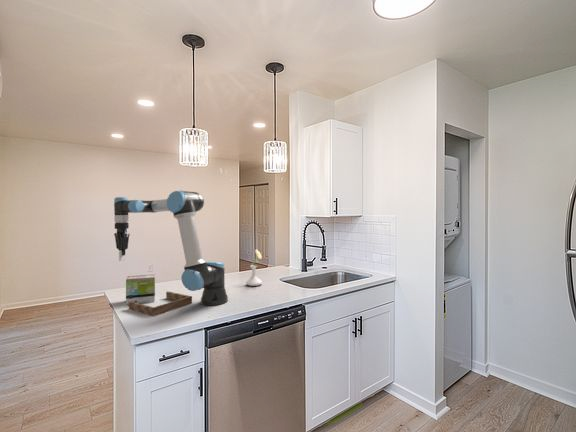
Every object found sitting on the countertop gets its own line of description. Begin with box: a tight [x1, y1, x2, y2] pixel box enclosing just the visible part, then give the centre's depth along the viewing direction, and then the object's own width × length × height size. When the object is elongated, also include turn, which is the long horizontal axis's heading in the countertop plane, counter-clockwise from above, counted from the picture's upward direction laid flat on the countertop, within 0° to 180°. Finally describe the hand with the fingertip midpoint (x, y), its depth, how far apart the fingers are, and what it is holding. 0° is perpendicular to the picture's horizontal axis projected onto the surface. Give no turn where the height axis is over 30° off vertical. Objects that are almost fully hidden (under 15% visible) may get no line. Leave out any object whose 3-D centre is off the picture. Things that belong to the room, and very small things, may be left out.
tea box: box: [125, 273, 156, 306], centre depth 175 cm, size 15×10×15 cm, turn 114°
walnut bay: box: [128, 291, 193, 317], centre depth 165 cm, size 21×24×4 cm
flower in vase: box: [245, 249, 263, 287], centre depth 211 cm, size 13×11×25 cm
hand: (122, 260), depth 184 cm, fingers closed
